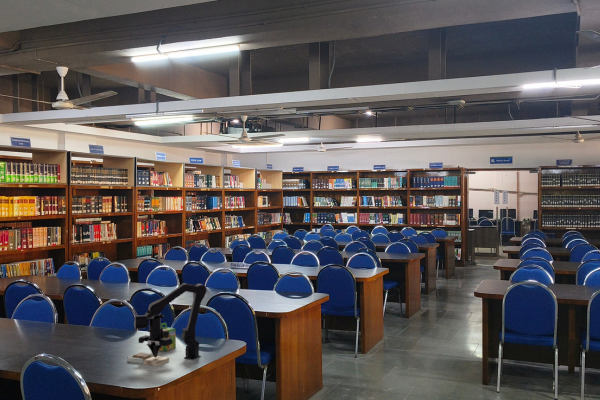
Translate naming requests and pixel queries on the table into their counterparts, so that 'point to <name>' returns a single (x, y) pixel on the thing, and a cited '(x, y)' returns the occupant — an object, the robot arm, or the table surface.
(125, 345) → the table surface
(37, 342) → the table surface
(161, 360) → the beige square slab
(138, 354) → the tile
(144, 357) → the tile
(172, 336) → the chalk box
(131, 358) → the tray
